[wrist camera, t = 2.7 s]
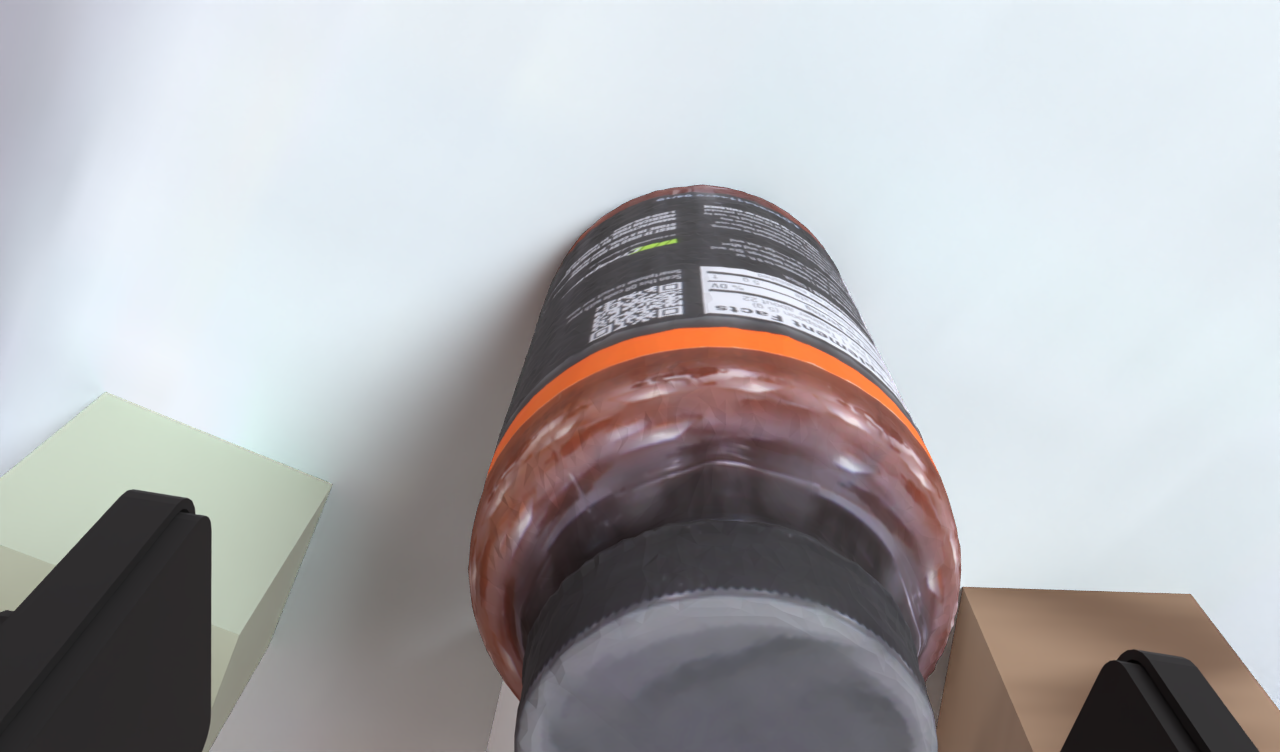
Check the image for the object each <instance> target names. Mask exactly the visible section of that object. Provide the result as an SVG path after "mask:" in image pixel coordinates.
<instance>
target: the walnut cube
mask: <svg viewBox="0 0 1280 752" xmlns="http://www.w3.org/2000/svg"><path fill="white" fill-rule="evenodd" d="M1132 649H1136V650H1143V651H1149V652H1155V653H1161V654H1168V655H1174V656H1180V657H1184V658H1186V659H1189V660H1190V661H1191V662H1192V663H1193V664H1194V665H1195V666H1196V667H1197V668H1198V669H1199V670H1200V672H1201V673H1202V674H1203V676H1204V677H1205V678H1206V680H1207V681H1208V683H1209V684H1210V685H1211V687H1212V688H1213V689H1214V691H1215V692H1216V693H1217V695H1218V696H1219V697H1220V699H1221V700H1222V702H1223V703H1224V704H1225V706H1226V707H1227V708H1228V710H1229V711H1230V712H1231V714H1232V715H1233V716H1234V718H1235V719H1236V721H1237V722H1238V723H1239V725H1240V726H1241V727H1242V729H1243V730H1244V731H1245V733H1246V734H1247V735H1248V737H1249V738H1250V739H1251V741H1252V742H1253V744H1254V745H1255V746H1256V748H1257V749H1258V750H1259V752H1280V710H1279V709H1278V708H1277V706H1276V705H1275V704H1274V702H1273V701H1272V700H1271V699H1270V697H1269V696H1268V695H1267V693H1266V692H1265V691H1264V689H1263V688H1262V687H1261V685H1260V684H1259V683H1258V682H1257V680H1256V679H1255V678H1254V676H1253V675H1252V674H1251V672H1250V671H1249V670H1248V668H1247V667H1246V666H1245V664H1244V663H1243V662H1242V661H1241V659H1240V658H1239V657H1238V655H1237V654H1236V653H1235V651H1234V650H1233V649H1232V647H1231V646H1230V645H1229V644H1228V642H1227V641H1226V640H1225V638H1224V637H1223V636H1222V634H1221V633H1220V632H1219V630H1218V629H1217V628H1216V626H1215V625H1214V624H1213V623H1212V621H1211V620H1210V619H1209V617H1208V616H1207V615H1206V613H1205V612H1204V611H1203V609H1202V608H1201V607H1200V606H1199V604H1198V603H1197V602H1196V600H1195V599H1194V598H1193V596H1192V595H1191V594H1170V593H1138V592H1106V591H1075V590H1043V589H1012V588H980V587H963V588H962V593H961V599H960V604H959V610H958V615H957V620H956V626H955V631H954V637H953V642H952V647H951V653H950V658H949V663H948V669H947V674H946V680H945V685H944V690H943V696H942V701H941V707H940V712H939V717H938V723H937V728H936V734H937V741H938V752H1060V751H1061V749H1062V747H1063V745H1064V743H1065V741H1066V739H1067V737H1068V735H1069V733H1070V731H1071V729H1072V727H1073V725H1074V723H1075V721H1076V719H1077V717H1078V715H1079V713H1080V711H1081V709H1082V707H1083V705H1084V703H1085V701H1086V699H1087V697H1088V695H1089V693H1090V691H1091V688H1092V686H1093V684H1094V682H1095V680H1096V678H1097V676H1098V674H1099V672H1100V670H1101V669H1102V667H1103V666H1104V664H1106V663H1107V662H1109V661H1112V660H1117V659H1118V658H1119V656H1120V655H1121V654H1122V653H1124V652H1125V651H1127V650H1132Z"/></svg>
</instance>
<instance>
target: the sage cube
mask: <svg viewBox="0 0 1280 752" xmlns="http://www.w3.org/2000/svg"><path fill="white" fill-rule="evenodd" d="M332 485H333V484H331V483H329V482H326V481H324V480H321V479H319V478H316V477H314V476H311V475H309V474H307V473H304V472H302V471H299V470H297V469H294V468H292V467H289V466H287V465H284V464H282V463H279V462H277V461H275V460H272V459H270V458H267V457H265V456H262V455H260V454H257V453H255V452H252V451H250V450H247V449H245V448H243V447H240V446H238V445H235V444H233V443H230V442H228V441H225V440H223V439H220V438H218V437H215V436H213V435H211V434H208V433H206V432H203V431H201V430H198V429H196V428H193V427H191V426H188V425H186V424H183V423H181V422H179V421H176V420H174V419H171V418H169V417H166V416H164V415H161V414H159V413H156V412H154V411H151V410H149V409H147V408H144V407H142V406H139V405H137V404H134V403H132V402H129V401H127V400H124V399H122V398H119V397H117V396H115V395H112V394H110V393H107V392H105V393H104V394H102V395H101V396H100V397H99V398H98V399H96V400H95V401H94V402H93V403H91V404H90V405H89V406H88V407H87V408H85V409H84V410H83V411H82V412H80V413H79V414H78V415H77V416H76V417H74V418H73V419H72V420H71V421H69V422H68V423H67V424H66V425H65V426H63V427H62V428H61V429H60V430H58V431H57V432H56V433H55V434H53V435H52V436H51V437H50V438H49V439H47V440H46V441H45V442H44V443H42V444H41V445H40V446H39V447H38V448H36V449H35V450H34V451H33V452H31V453H30V454H29V455H28V456H27V457H25V458H24V459H23V460H22V461H20V462H19V463H18V464H17V465H16V466H14V467H13V468H12V469H11V470H9V471H8V472H7V473H6V474H5V475H3V476H2V477H1V478H0V612H2V611H5V610H10V611H15V610H16V608H17V607H18V606H19V605H20V604H21V603H22V602H23V601H24V600H25V599H26V598H27V597H28V595H29V594H30V593H31V592H32V591H33V590H34V589H35V588H36V587H37V586H38V585H39V584H40V583H41V581H42V580H43V579H44V578H45V577H46V576H47V575H48V574H49V573H50V572H51V571H52V570H53V568H54V567H55V566H56V565H57V564H58V563H59V562H60V561H61V560H62V559H63V558H64V557H65V555H66V554H67V553H68V552H69V551H70V550H71V549H72V548H73V547H74V546H75V545H76V544H77V542H78V541H79V540H80V539H81V538H82V537H83V536H84V535H85V534H86V533H87V532H88V531H89V529H90V528H91V527H92V526H93V525H94V524H95V523H96V522H97V521H98V520H99V519H100V518H101V516H102V515H103V514H104V513H105V512H106V511H107V510H108V509H109V508H110V507H111V506H112V505H113V503H114V502H115V501H116V500H117V499H118V498H119V497H120V496H121V495H122V494H123V493H125V492H126V491H127V490H132V489H135V490H141V491H148V492H154V493H160V494H166V495H173V496H179V497H185V498H189V499H190V500H192V501H193V504H194V506H195V514H198V515H204V516H207V517H209V519H210V521H211V528H212V578H211V722H210V728H209V732H208V736H207V740H206V743H205V745H204V748H203V751H202V752H209V750H210V748H211V747H212V745H213V743H214V741H215V739H216V738H217V736H218V734H219V732H220V731H221V729H222V727H223V725H224V724H225V722H226V720H227V718H228V717H229V715H230V713H231V711H232V710H233V708H234V706H235V704H236V703H237V701H238V699H239V697H240V696H241V694H242V692H243V690H244V689H245V687H246V685H247V683H248V682H249V680H250V678H251V676H252V675H253V673H254V671H255V669H256V668H257V666H258V664H259V662H260V661H261V659H262V657H263V655H264V654H265V652H266V650H267V648H268V646H269V644H270V642H271V639H272V636H273V634H274V631H275V629H276V626H277V624H278V621H279V619H280V616H281V614H282V611H283V609H284V606H285V604H286V601H287V599H288V596H289V594H290V591H291V588H292V586H293V583H294V581H295V578H296V576H297V573H298V571H299V568H300V566H301V563H302V561H303V558H304V556H305V553H306V551H307V548H308V545H309V543H310V540H311V538H312V535H313V533H314V530H315V528H316V525H317V523H318V520H319V518H320V515H321V513H322V510H323V508H324V505H325V503H326V500H327V497H328V495H329V492H330V490H331V487H332Z"/></svg>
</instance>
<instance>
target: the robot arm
mask: <svg viewBox="0 0 1280 752" xmlns="http://www.w3.org/2000/svg"><path fill="white" fill-rule="evenodd" d="M211 578H212V528H211V521H210V519H209V517H207V516H204V515H198V514H195V506H194V504H193V501H192V500H190V499H189V498H185V497H179V496H173V495H166V494H160V493H154V492H148V491H141V490H135V489H132V490H127V491H126V492H125V493H123V494H122V495H121V496H120V497H119V498H118V499H117V500H116V501H115V502H114V503H113V505H112V506H111V507H110V508H109V509H108V510H107V511H106V512H105V513H104V514H103V515H102V516H101V518H100V519H99V520H98V521H97V522H96V523H95V524H94V525H93V526H92V527H91V528H90V529H89V531H88V532H87V533H86V534H85V535H84V536H83V537H82V538H81V539H80V540H79V541H78V542H77V544H76V545H75V546H74V547H73V548H72V549H71V550H70V551H69V552H68V553H67V554H66V555H65V557H64V558H63V559H62V560H61V561H60V562H59V563H58V564H57V565H56V566H55V567H54V568H53V570H52V571H51V572H50V573H49V574H48V575H47V576H46V577H45V578H44V579H43V580H42V581H41V583H40V584H39V585H38V586H37V587H36V588H35V589H34V590H33V591H32V592H31V593H30V594H29V595H28V597H27V598H26V599H25V600H24V601H23V602H22V603H21V604H20V605H19V606H18V607H17V608H16V610H15V611H10V610H5V611H2V612H0V752H202V751H203V748H204V745H205V743H206V740H207V736H208V732H209V728H210V722H211ZM1060 752H1259V750H1258V749H1257V748H1256V746H1255V745H1254V744H1253V742H1252V741H1251V739H1250V738H1249V737H1248V735H1247V734H1246V733H1245V731H1244V730H1243V729H1242V727H1241V726H1240V725H1239V723H1238V722H1237V721H1236V719H1235V718H1234V716H1233V715H1232V714H1231V712H1230V711H1229V710H1228V708H1227V707H1226V706H1225V704H1224V703H1223V702H1222V700H1221V699H1220V697H1219V696H1218V695H1217V693H1216V692H1215V691H1214V689H1213V688H1212V687H1211V685H1210V684H1209V683H1208V681H1207V680H1206V678H1205V677H1204V676H1203V674H1202V673H1201V672H1200V670H1199V669H1198V668H1197V667H1196V666H1195V665H1194V664H1193V663H1192V662H1191V661H1190V660H1189V659H1186V658H1184V657H1180V656H1174V655H1168V654H1161V653H1155V652H1149V651H1143V650H1136V649H1132V650H1127V651H1125V652H1124V653H1122V654H1121V655H1120V656H1119V658H1118V659H1117V660H1112V661H1109V662H1107V663H1106V664H1104V666H1103V667H1102V669H1101V670H1100V672H1099V674H1098V676H1097V678H1096V680H1095V682H1094V684H1093V686H1092V688H1091V691H1090V693H1089V695H1088V697H1087V699H1086V701H1085V703H1084V705H1083V707H1082V709H1081V711H1080V713H1079V715H1078V717H1077V719H1076V721H1075V723H1074V725H1073V727H1072V729H1071V731H1070V733H1069V735H1068V737H1067V739H1066V741H1065V743H1064V745H1063V747H1062V749H1061V751H1060Z"/></svg>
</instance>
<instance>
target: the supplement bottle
mask: <svg viewBox="0 0 1280 752" xmlns="http://www.w3.org/2000/svg"><path fill="white" fill-rule="evenodd" d="M468 573H469V583H470V593H471V601H472V608H473V612H474V616H475V619H476V622H477V626H478V629H479V632H480V635H481V637H482V640H483V642H484V645H485V647H486V650H487V652H488V654H489V656H490V657H491V659H492V661H493V663H494V665H495V667H496V669H497V670H498V672H499V673H500V675H501V676H502V678H503V680H504V682H505V684H506V685H507V686H508V687H509V688H510V690H511V691H512V692H513V694H514V695H515V696H516V698H517V699H518V700H519V701H520V702H519V706H518V709H517V717H516V726H515V734H514V752H938V741H937V734H936V726H935V719H934V715H933V711H932V707H931V704H930V701H929V698H928V695H927V691H926V686H925V682H926V681H927V678H928V676H929V675H930V674H931V673H932V672H933V671H934V670H935V665H936V663H937V661H938V659H939V658H940V656H941V655H942V654H943V651H944V648H945V646H946V644H947V641H948V637H949V634H950V631H951V629H952V627H953V626H954V617H955V615H956V613H957V609H958V595H959V590H960V578H961V552H960V544H959V540H958V535H957V528H956V524H955V520H954V517H953V513H952V510H951V506H950V503H949V499H948V496H947V493H946V491H945V488H944V485H943V483H942V480H941V477H940V475H939V473H938V471H937V469H936V467H935V465H934V463H933V460H932V458H931V456H930V454H929V452H928V450H927V448H926V446H925V444H924V442H923V439H922V437H921V434H920V432H919V430H918V428H917V426H916V425H915V423H914V421H913V419H912V417H911V415H910V413H909V411H908V409H907V407H906V405H905V403H904V401H903V399H902V397H901V395H900V393H899V391H898V389H897V387H896V385H895V383H894V381H893V379H892V377H891V375H890V373H889V371H888V369H887V367H886V365H885V363H884V361H883V359H882V357H881V355H880V353H879V351H878V349H877V347H876V345H875V343H874V341H873V339H872V337H871V335H870V333H869V331H868V329H867V327H866V325H865V323H864V320H863V318H862V316H861V315H860V313H859V311H858V309H857V306H856V304H855V302H854V300H853V298H852V296H851V294H850V293H849V291H848V289H847V286H846V284H845V282H844V280H843V279H842V278H841V276H840V273H839V271H838V269H837V267H836V266H835V264H834V262H833V261H832V260H831V258H830V256H829V255H828V254H827V252H826V250H825V249H824V247H823V246H822V245H821V244H820V242H819V241H818V240H817V238H816V237H815V236H814V235H813V234H812V233H811V232H810V231H809V230H808V229H807V228H806V227H805V226H804V225H803V224H801V223H800V222H799V221H797V220H796V219H795V218H794V217H793V216H791V215H790V214H789V213H787V212H786V211H784V210H782V209H781V208H779V207H778V206H776V205H774V204H772V203H770V202H768V201H766V200H764V199H762V198H759V197H756V196H754V195H750V194H747V193H745V192H742V191H738V190H733V189H730V188H725V187H718V186H709V185H694V186H688V187H675V188H669V189H665V190H659V191H654V192H651V193H649V194H646V195H643V196H640V197H638V198H635V199H632V200H630V201H628V202H626V203H624V204H622V205H621V206H619V207H618V208H616V209H614V210H613V211H611V212H609V213H608V214H606V215H604V216H603V217H601V218H600V219H599V220H598V221H597V222H596V223H595V224H594V225H592V226H591V227H590V228H589V229H588V230H587V231H585V232H584V233H583V234H582V235H581V236H580V237H579V239H578V240H577V241H576V243H575V244H574V245H573V247H572V248H571V250H570V251H569V253H568V254H567V256H566V257H565V259H564V261H563V262H562V264H561V266H560V267H559V269H558V271H557V273H556V275H555V277H554V279H553V281H552V283H551V285H550V288H549V291H548V294H547V297H546V299H545V302H544V305H543V308H542V310H541V313H540V316H539V320H538V323H537V325H536V330H535V333H534V335H533V338H532V341H531V345H530V348H529V351H528V354H527V356H526V359H525V363H524V366H523V368H522V371H521V374H520V377H519V380H518V383H517V386H516V389H515V392H514V395H513V398H512V401H511V404H510V407H509V410H508V412H507V415H506V418H505V421H504V425H503V427H502V430H501V433H500V436H499V439H498V443H497V446H496V450H495V453H494V456H493V459H492V462H491V465H490V468H489V471H488V474H487V476H486V481H485V485H484V490H483V493H482V496H481V499H480V502H479V505H478V508H477V513H476V517H475V521H474V525H473V530H472V536H471V543H470V556H469V566H468Z"/></svg>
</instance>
